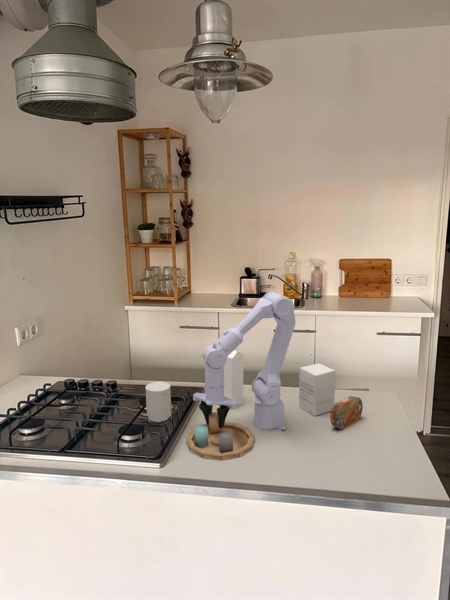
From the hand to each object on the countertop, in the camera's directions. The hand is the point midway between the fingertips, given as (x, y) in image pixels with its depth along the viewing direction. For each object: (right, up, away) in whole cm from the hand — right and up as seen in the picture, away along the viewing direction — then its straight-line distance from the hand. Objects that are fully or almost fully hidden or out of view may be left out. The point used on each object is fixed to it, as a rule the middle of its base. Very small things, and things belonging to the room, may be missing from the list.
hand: (215, 425), depth 146 cm
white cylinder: (-19, -1, +12) cm, 22 cm away
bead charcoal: (+3, -5, -10) cm, 12 cm away
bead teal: (-4, -4, -6) cm, 8 cm away
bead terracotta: (0, -1, 0) cm, 2 cm away
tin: (+43, -2, +8) cm, 44 cm away
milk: (+5, +1, +23) cm, 24 cm away
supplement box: (+35, +1, +19) cm, 40 cm away
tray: (+2, -4, -5) cm, 7 cm away
